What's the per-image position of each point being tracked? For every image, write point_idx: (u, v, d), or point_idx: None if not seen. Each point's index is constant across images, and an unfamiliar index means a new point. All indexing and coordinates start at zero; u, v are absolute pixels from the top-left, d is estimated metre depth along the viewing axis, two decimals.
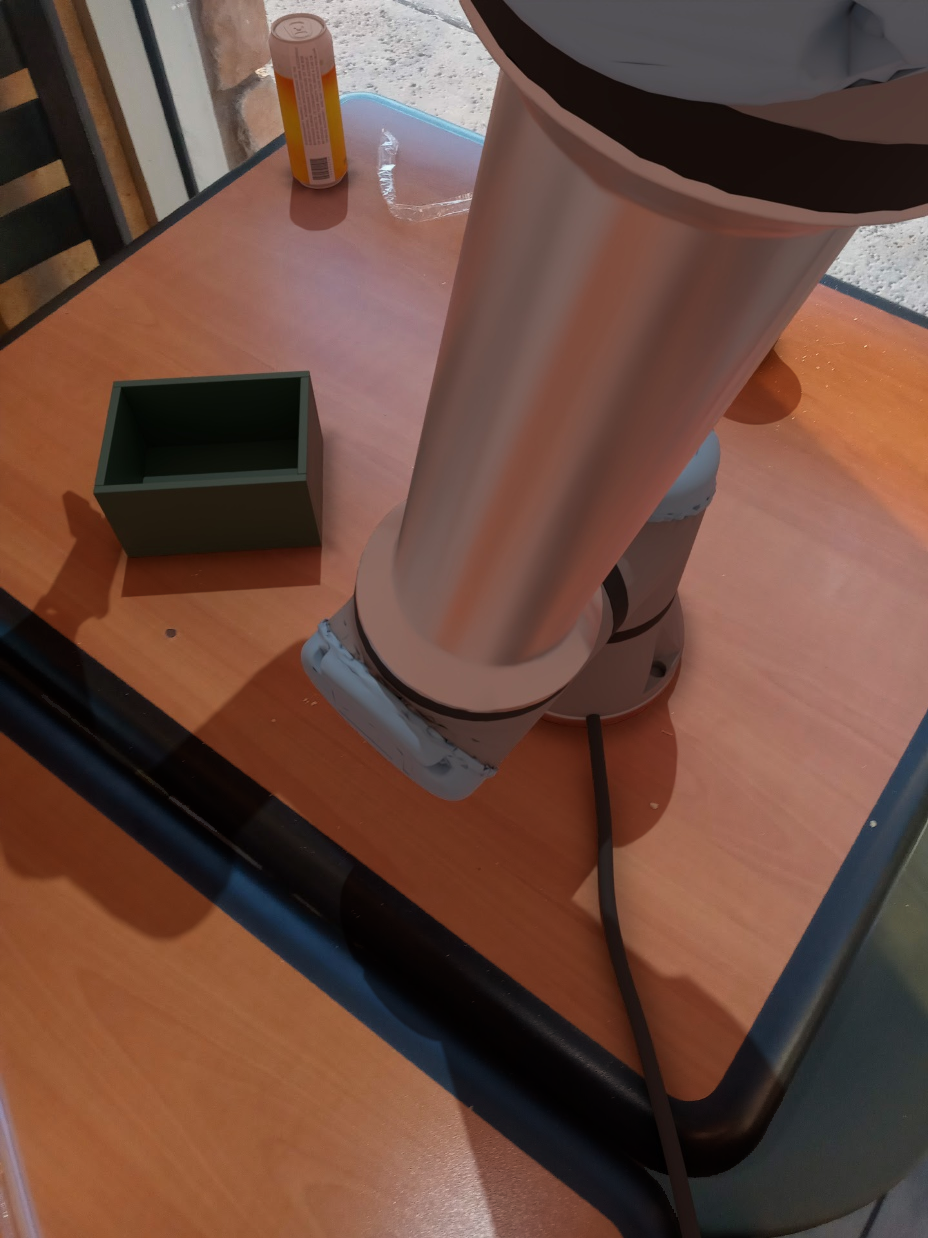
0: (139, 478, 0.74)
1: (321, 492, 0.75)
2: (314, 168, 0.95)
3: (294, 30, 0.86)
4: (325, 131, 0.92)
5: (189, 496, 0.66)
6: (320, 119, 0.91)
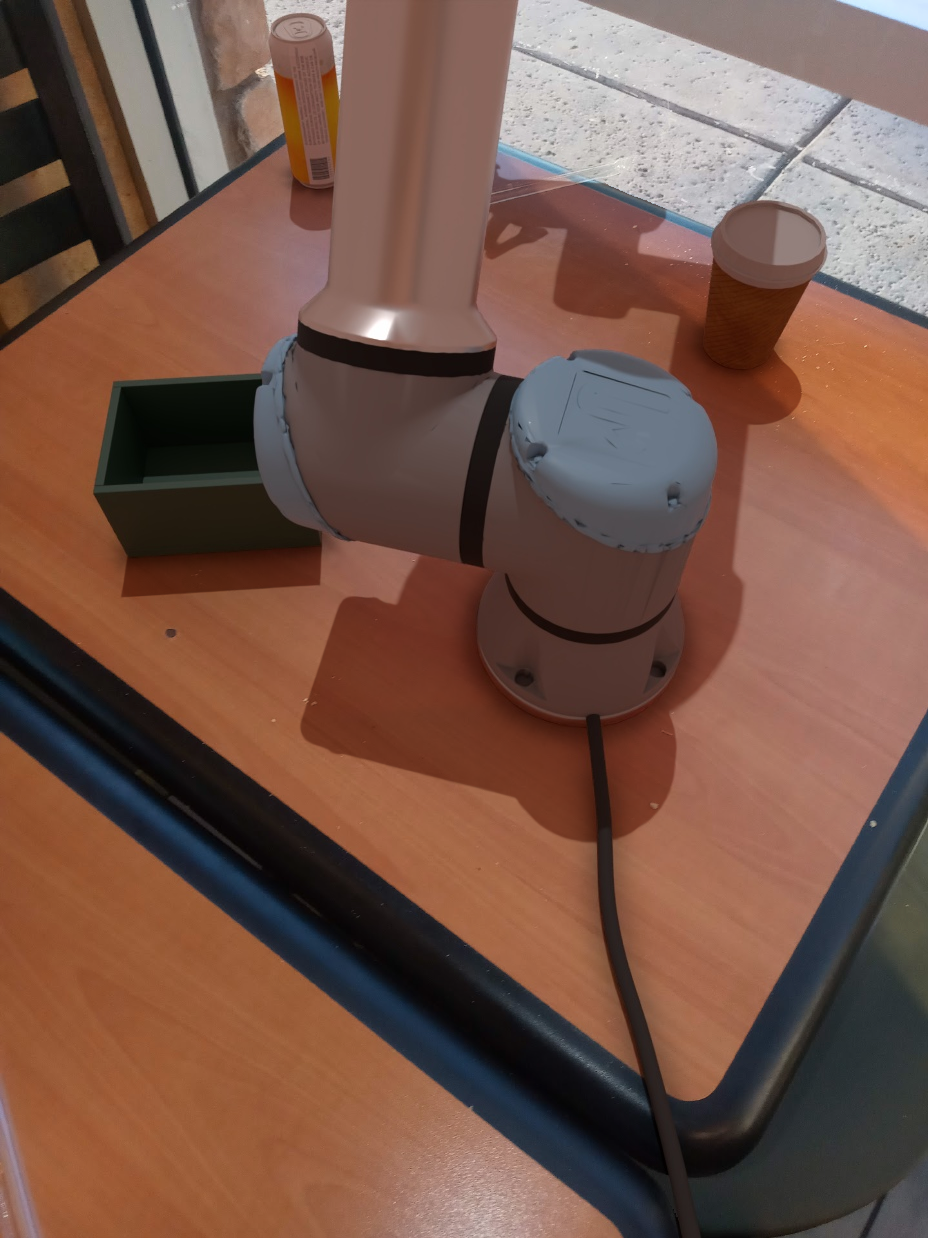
0: (139, 478, 0.74)
1: None
2: (314, 168, 0.95)
3: (294, 30, 0.86)
4: (325, 131, 0.92)
5: (189, 496, 0.66)
6: (320, 119, 0.91)
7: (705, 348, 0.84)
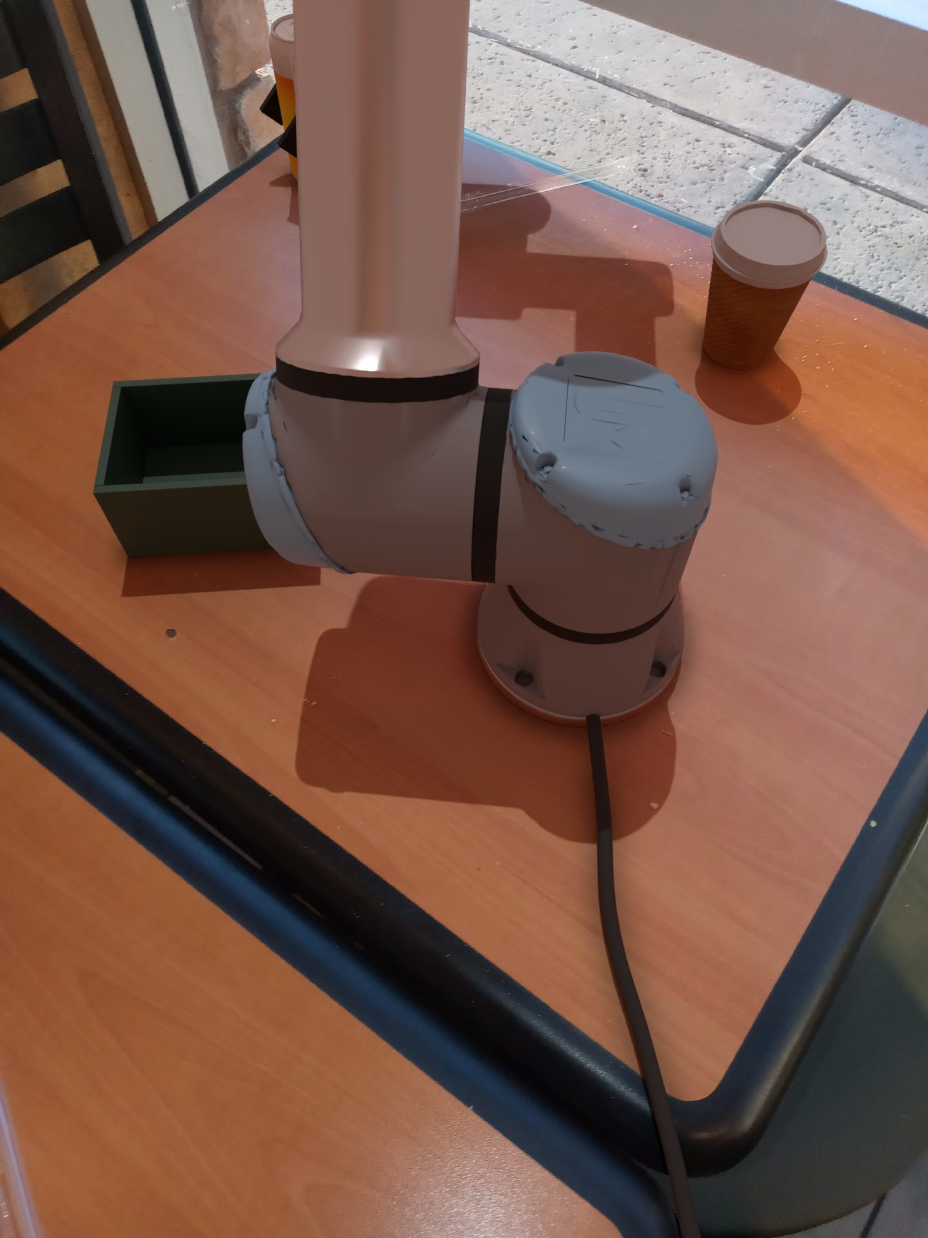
0: (139, 478, 0.74)
1: None
2: None
3: None
4: None
5: (189, 496, 0.66)
6: None
7: (705, 348, 0.84)
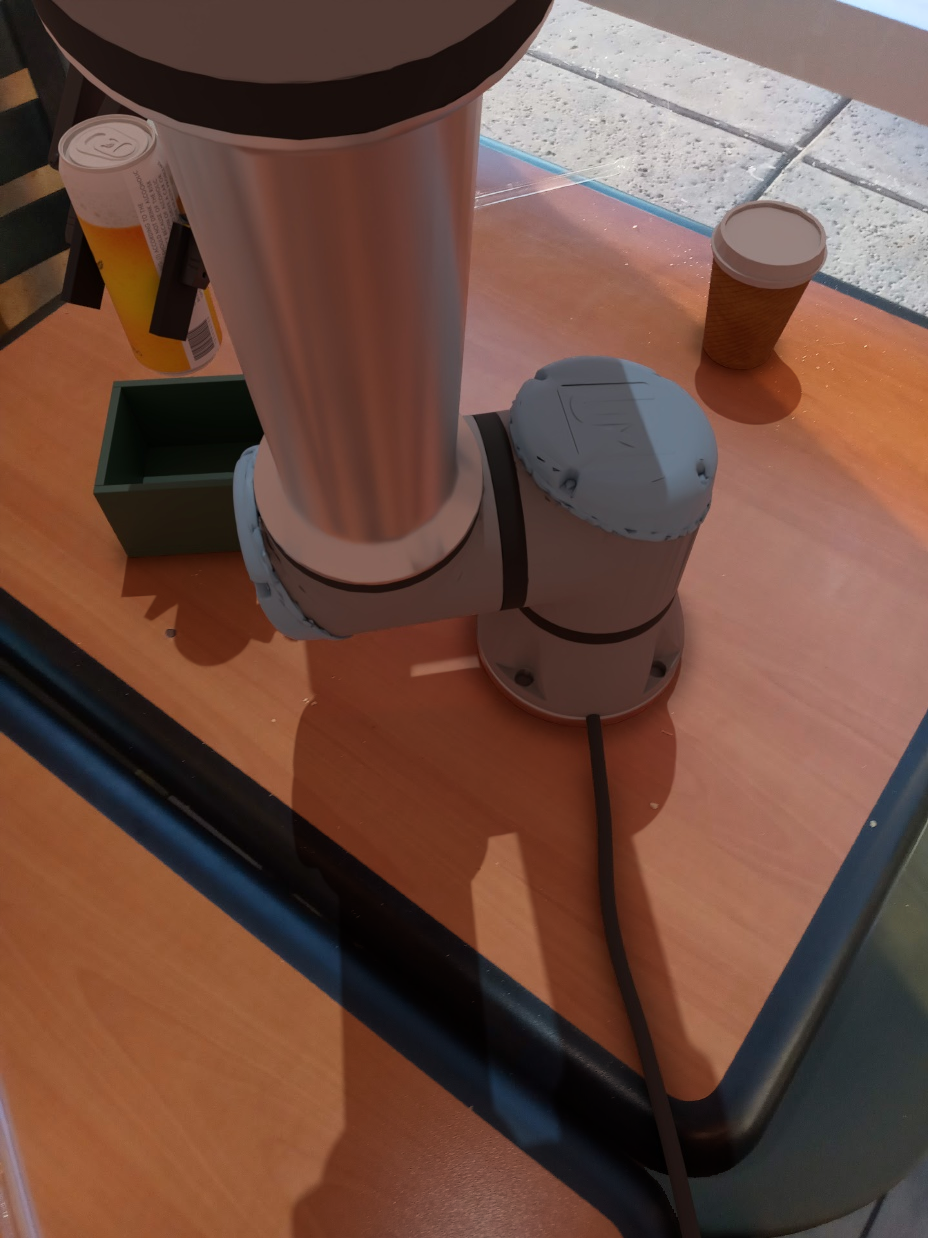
0: (139, 478, 0.74)
1: None
2: (195, 343, 0.60)
3: (107, 148, 0.50)
4: None
5: (189, 496, 0.66)
6: None
7: (705, 348, 0.84)
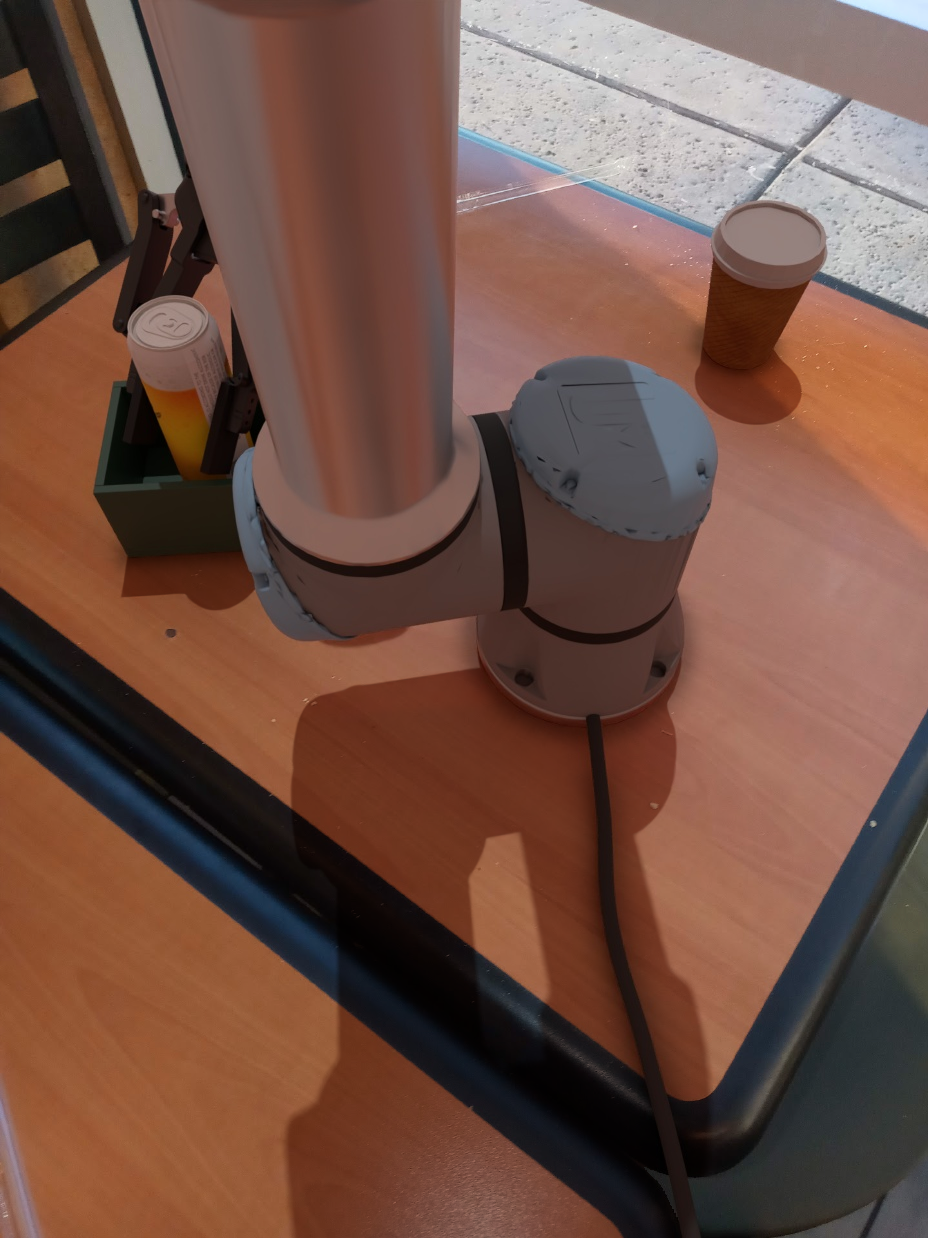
0: (139, 478, 0.74)
1: None
2: None
3: (168, 329, 0.60)
4: None
5: (189, 496, 0.66)
6: None
7: (705, 348, 0.84)
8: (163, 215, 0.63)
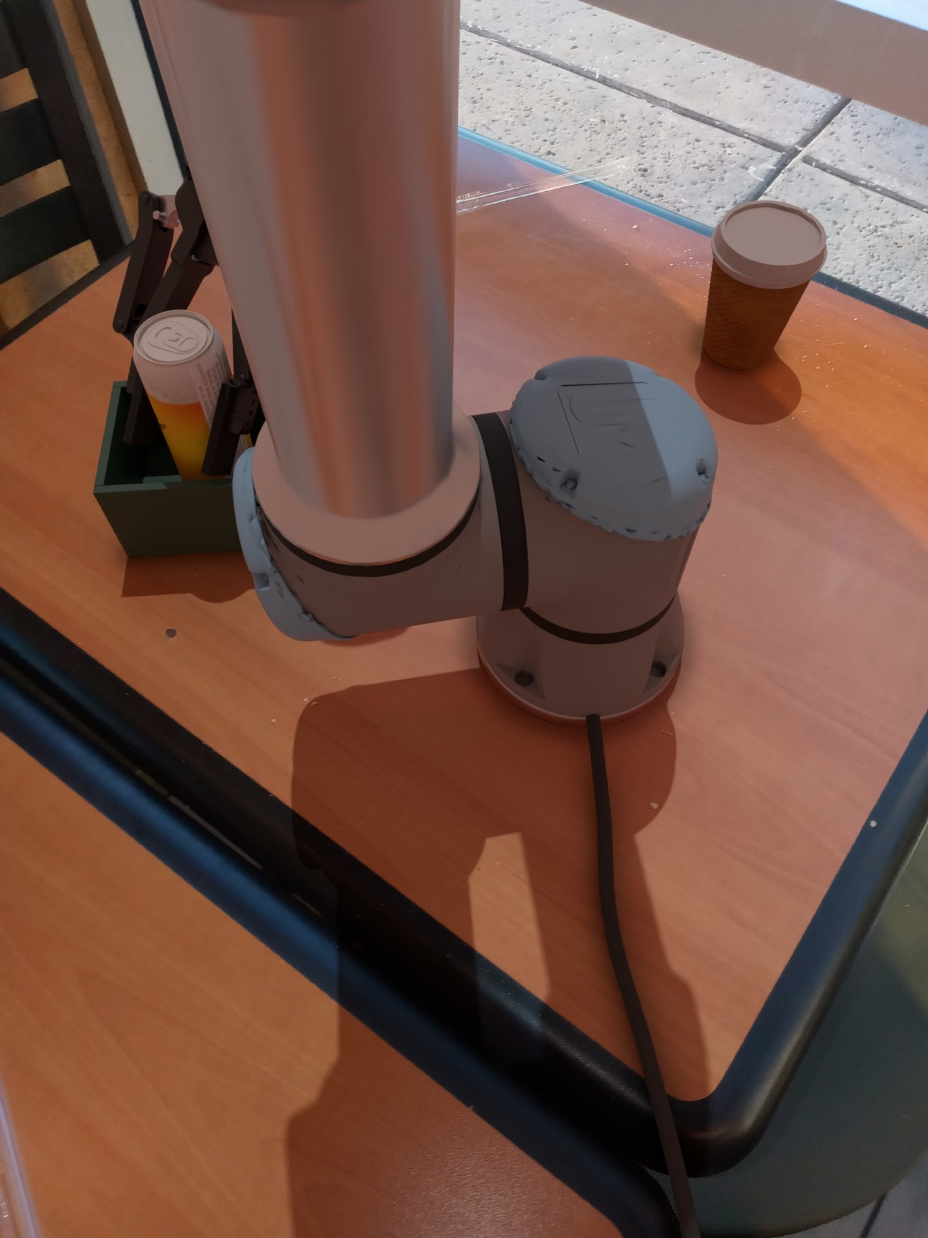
0: (139, 478, 0.74)
1: None
2: None
3: (174, 343, 0.61)
4: (242, 435, 0.68)
5: (189, 496, 0.66)
6: None
7: (705, 348, 0.84)
8: (163, 217, 0.63)
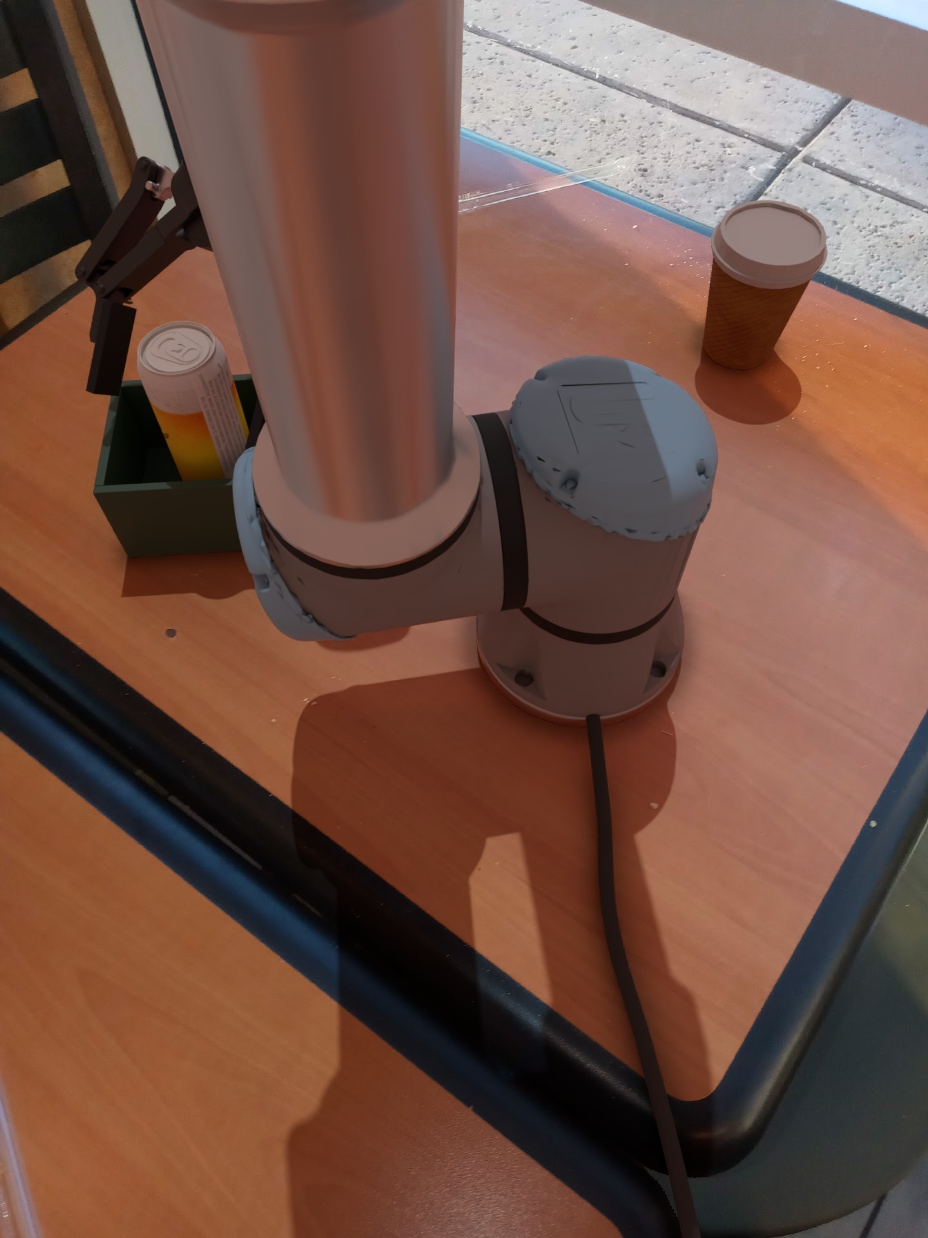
0: (139, 478, 0.74)
1: None
2: None
3: (176, 354, 0.62)
4: (244, 444, 0.69)
5: (189, 496, 0.66)
6: (238, 435, 0.67)
7: (705, 348, 0.84)
8: (156, 189, 0.62)
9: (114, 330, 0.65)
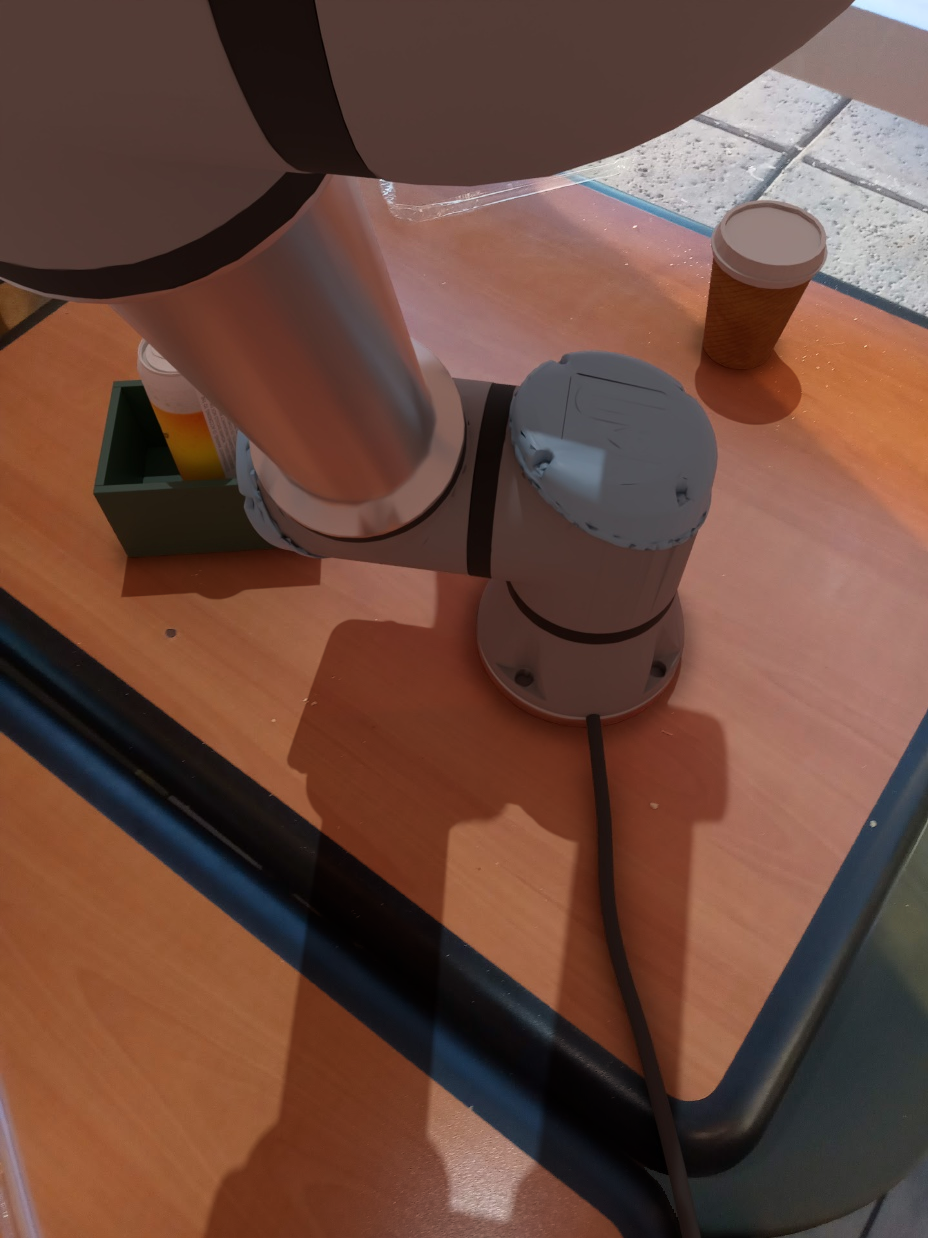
0: (139, 478, 0.74)
1: None
2: None
3: None
4: None
5: (189, 496, 0.66)
6: None
7: (705, 348, 0.84)
8: None
9: None
